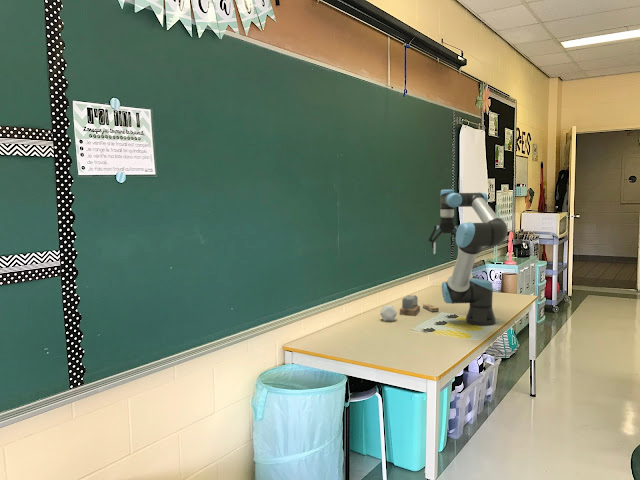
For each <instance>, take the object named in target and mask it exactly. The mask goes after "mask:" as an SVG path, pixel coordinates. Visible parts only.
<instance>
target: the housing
mask: <svg viewBox="0 0 640 480" xmlns="http://www.w3.org/2000/svg"><path fill="white" fill-rule="evenodd" d="M418 297H419V296H417V295H411V294H410V295H409V294H407V295H406V296H404V297H403V298H402V301H401V302H402V303H401V305H402V307H401V308H403V309H414V308H415V307H417V306H419V304H418V302H419V301H418V300H419V298H418Z"/></svg>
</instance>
